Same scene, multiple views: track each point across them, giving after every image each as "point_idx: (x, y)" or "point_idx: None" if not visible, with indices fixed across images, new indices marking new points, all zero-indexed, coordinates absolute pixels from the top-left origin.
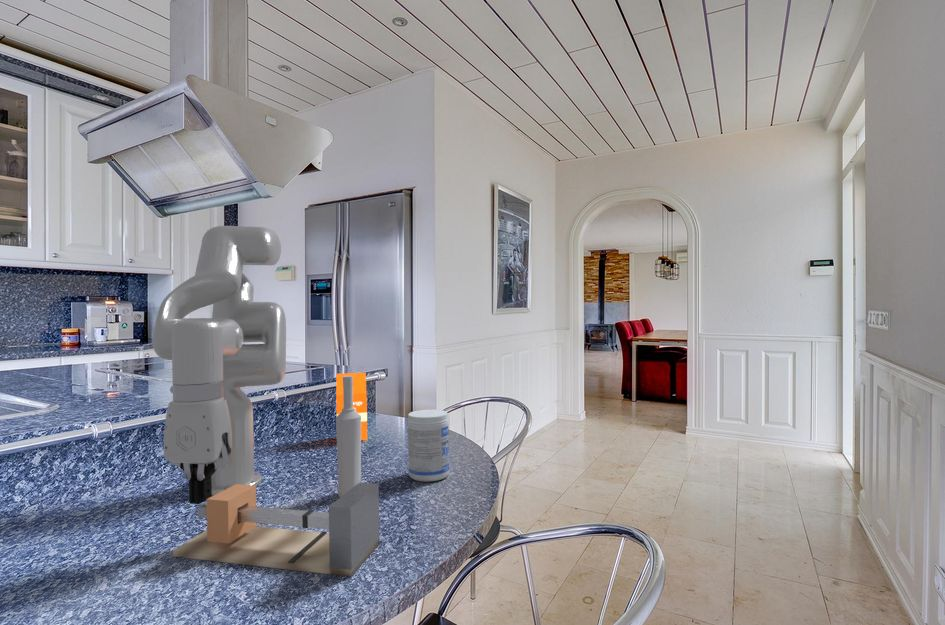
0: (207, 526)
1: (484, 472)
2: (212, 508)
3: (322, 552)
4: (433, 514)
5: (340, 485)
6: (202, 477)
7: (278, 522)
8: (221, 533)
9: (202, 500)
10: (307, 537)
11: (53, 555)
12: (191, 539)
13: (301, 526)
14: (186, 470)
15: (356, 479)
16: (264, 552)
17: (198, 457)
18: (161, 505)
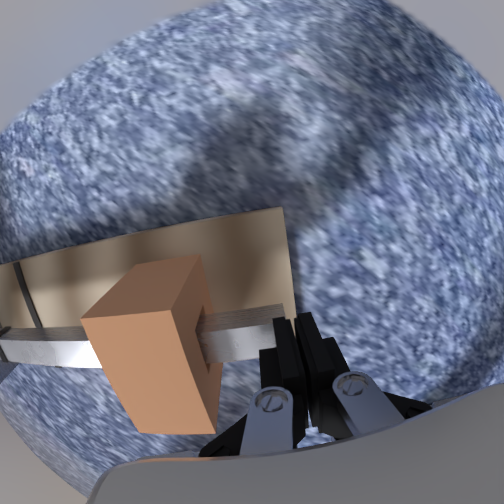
0: (190, 268)
1: None
2: (154, 297)
3: (11, 307)
4: (35, 427)
5: None
6: (255, 401)
7: (42, 330)
8: (147, 269)
9: (275, 341)
10: None
11: (494, 144)
12: (289, 267)
13: (11, 328)
14: (373, 403)
15: None
16: (72, 277)
17: (208, 498)
18: (476, 348)
